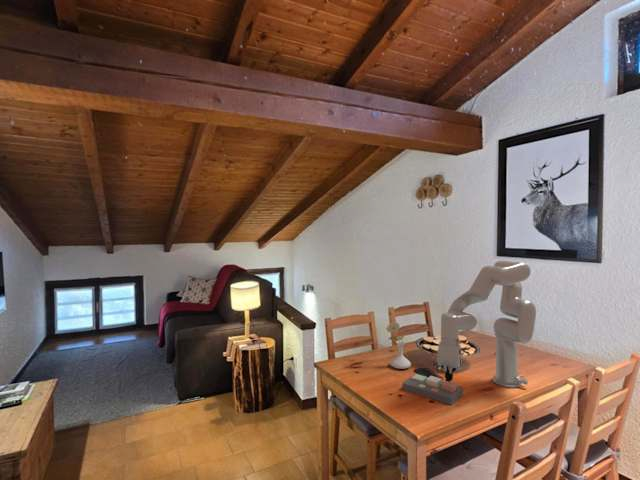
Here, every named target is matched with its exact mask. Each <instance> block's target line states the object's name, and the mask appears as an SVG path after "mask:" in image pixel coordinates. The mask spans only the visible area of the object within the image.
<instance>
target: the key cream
mask: <svg viewBox="0 0 640 480" xmlns="http://www.w3.org/2000/svg"><path fill="white" fill-rule="evenodd" d="M442 381H443V380H442V379H441V378H437V377H434V376H430V377H429V378H427V379H426V384H427V385H430V386H433V387H436V388H438V387H439V386H441V385H442Z"/></svg>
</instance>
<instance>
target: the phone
mask: <svg viewBox="0 0 640 480" xmlns="http://www.w3.org/2000/svg"><path fill="white" fill-rule="evenodd" d="M413 371H414V373H415V374H419V375H422V376H426V377H430V376H434V377H437V378H441V379H442V381H443V380H444V379H443V377H442V376H441V375H440V374H438V373H436V372H434V371H433V370H431V369H429V368H428V367H419V368H418V367H417V368H414V369H413Z"/></svg>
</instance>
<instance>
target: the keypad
mask: <svg viewBox="0 0 640 480" xmlns="http://www.w3.org/2000/svg"><path fill="white" fill-rule="evenodd" d="M416 374H418V373H415V374H414V375H416ZM414 375H412V376H410V377H409V378H408V379H406V380H405V381H404V382H402V390H404V391H407V392H410V393H413V394H416V395H418V396H419V395H420V396H422V397H425V398H428V399H430V400H434V401H437V402H440V403H443V404H445V405H449V406H452V405H453V404H454V403H455V402H456V401H457V400H458V399H459V398H460V397H461V396H462V395H464V388H463V387H464V386H463V387H462V386H460V385H458V390H457V391H456V392H455V393H452V392H449V391H446V390H443V389H442V385H441V386H439V387H438V388H436V387H433V386H430V385H427V384H426V381H425V382H423V383H420V382H417V381H414V380H412V377H413V376H414ZM418 375H419V374H418ZM425 377H426V376H425ZM427 378H429V377H427ZM443 382H444V381H443V380H442V383H443Z"/></svg>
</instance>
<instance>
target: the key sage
mask: <svg viewBox="0 0 640 480" xmlns="http://www.w3.org/2000/svg"><path fill="white" fill-rule="evenodd" d="M415 374H416V375H415ZM415 374H414V375H412V376H413V377H412V376H411V377H412V380H414V381H417V382H420V383H423V382H425V381H426V379H427V377H425V376H422V375H418V373H415Z"/></svg>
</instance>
